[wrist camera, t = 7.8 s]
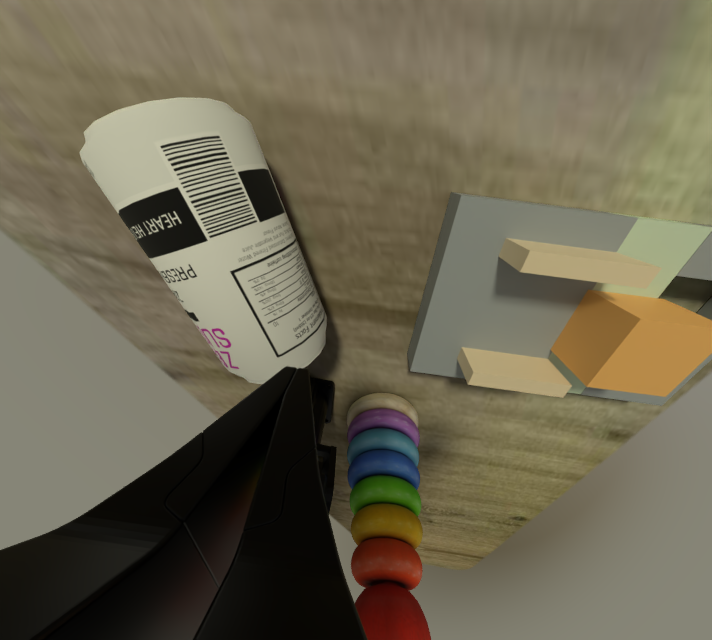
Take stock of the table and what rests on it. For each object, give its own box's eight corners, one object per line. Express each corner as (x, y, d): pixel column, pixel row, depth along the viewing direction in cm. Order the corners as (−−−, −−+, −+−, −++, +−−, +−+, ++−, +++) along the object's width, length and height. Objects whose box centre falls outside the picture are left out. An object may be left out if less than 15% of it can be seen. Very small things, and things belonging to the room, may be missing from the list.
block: (615, 357, 20) (665, 396, 17) (550, 349, 20) (586, 386, 17) (663, 299, 17) (735, 330, 14) (588, 289, 17) (640, 319, 14)
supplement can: (251, 125, 17) (325, 313, 24) (128, 161, 16) (241, 345, 23) (230, 70, 10) (343, 359, 17) (8, 130, 9) (223, 408, 16)
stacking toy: (336, 421, 30) (288, 704, 14) (367, 378, 26) (349, 701, 10) (394, 443, 32) (409, 725, 16) (431, 405, 28) (504, 730, 12)
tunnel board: (636, 384, 24) (699, 436, 19) (407, 353, 24) (414, 397, 20) (777, 234, 17) (931, 258, 12) (451, 192, 17) (478, 200, 12)
